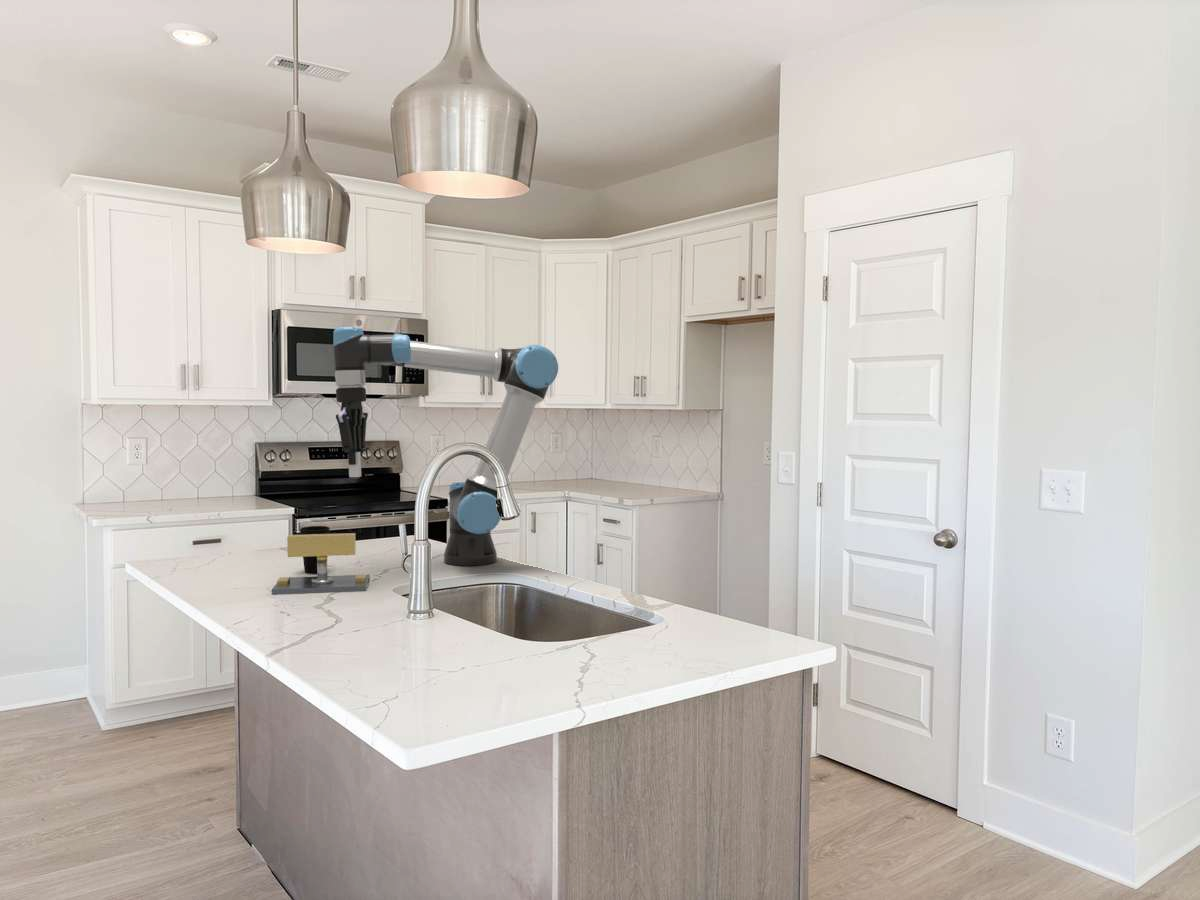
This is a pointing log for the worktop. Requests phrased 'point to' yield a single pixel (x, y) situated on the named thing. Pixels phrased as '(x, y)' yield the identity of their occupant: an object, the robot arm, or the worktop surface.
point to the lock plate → (321, 583)
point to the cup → (311, 561)
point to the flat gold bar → (321, 545)
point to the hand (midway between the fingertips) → (355, 476)
